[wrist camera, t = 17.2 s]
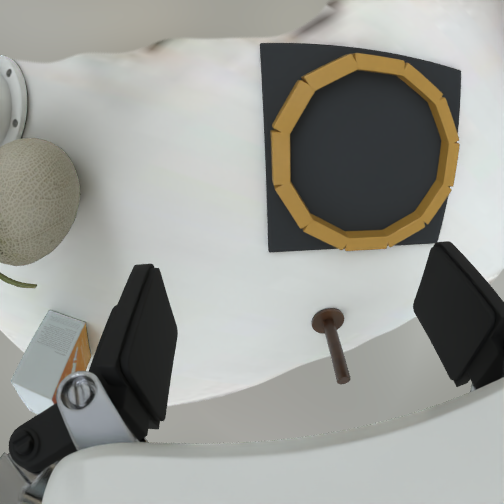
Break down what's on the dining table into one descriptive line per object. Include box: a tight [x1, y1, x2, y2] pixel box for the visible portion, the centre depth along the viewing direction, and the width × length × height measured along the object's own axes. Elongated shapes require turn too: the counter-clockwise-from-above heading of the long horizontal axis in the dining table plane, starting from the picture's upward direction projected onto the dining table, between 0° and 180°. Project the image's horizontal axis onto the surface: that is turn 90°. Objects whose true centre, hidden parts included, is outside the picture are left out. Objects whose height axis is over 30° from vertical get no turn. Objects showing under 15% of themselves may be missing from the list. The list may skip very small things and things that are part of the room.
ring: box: [271, 53, 460, 251], centre depth 23 cm, size 18×18×1 cm
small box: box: [11, 310, 91, 414], centre depth 31 cm, size 8×6×13 cm
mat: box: [260, 43, 461, 252], centre depth 24 cm, size 19×19×1 cm
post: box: [312, 308, 350, 384], centre depth 31 cm, size 4×4×9 cm
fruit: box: [0, 138, 80, 288], centre depth 18 cm, size 10×12×15 cm
